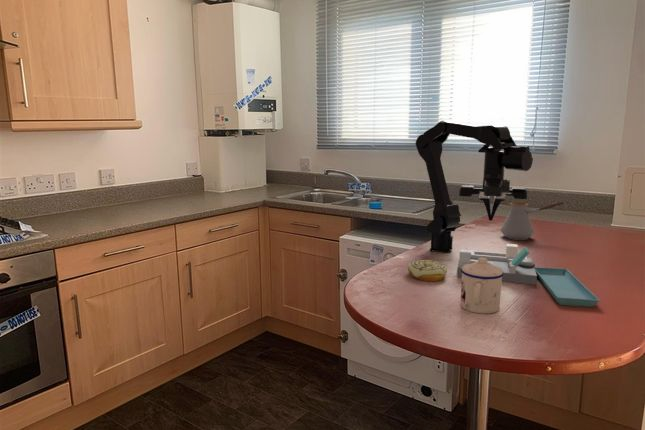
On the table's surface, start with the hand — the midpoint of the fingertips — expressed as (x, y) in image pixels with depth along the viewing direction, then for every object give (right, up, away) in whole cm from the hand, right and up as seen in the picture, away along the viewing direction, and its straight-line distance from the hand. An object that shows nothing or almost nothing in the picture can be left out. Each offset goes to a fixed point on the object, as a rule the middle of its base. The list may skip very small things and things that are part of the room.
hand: (490, 220), depth 143 cm
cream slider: (+5, -11, -4) cm, 13 cm away
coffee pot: (+26, -8, +31) cm, 41 cm away
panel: (-1, -15, -7) cm, 16 cm away
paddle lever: (+1, -12, -14) cm, 19 cm away
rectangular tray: (+11, -18, -21) cm, 30 cm away
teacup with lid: (-15, -20, -35) cm, 43 cm away
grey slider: (-11, -13, -10) cm, 19 cm away
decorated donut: (-22, -16, -11) cm, 29 cm away
